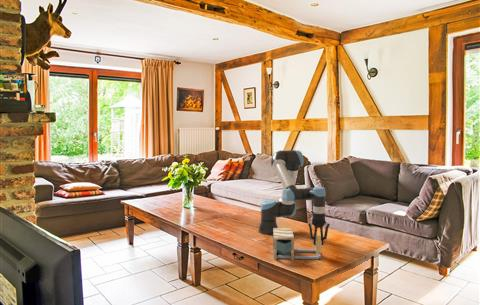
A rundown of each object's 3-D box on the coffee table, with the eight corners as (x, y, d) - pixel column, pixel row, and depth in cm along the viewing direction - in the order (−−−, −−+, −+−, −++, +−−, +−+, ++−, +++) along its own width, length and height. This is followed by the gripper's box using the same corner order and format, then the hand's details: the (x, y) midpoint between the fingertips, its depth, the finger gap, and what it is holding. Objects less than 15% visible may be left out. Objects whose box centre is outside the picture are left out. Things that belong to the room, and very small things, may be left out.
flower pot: (274, 254, 224) (274, 240, 223) (282, 251, 230) (283, 237, 229) (285, 258, 217) (285, 243, 217) (294, 254, 224) (294, 240, 223)
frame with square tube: (273, 250, 231) (273, 232, 230) (318, 251, 229) (318, 232, 228) (274, 257, 217) (274, 238, 216) (321, 259, 215) (321, 239, 214)
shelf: (273, 249, 234) (273, 228, 233) (291, 249, 233) (291, 228, 232) (273, 259, 215) (273, 237, 214) (293, 260, 214) (294, 237, 213)
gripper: (307, 213, 217) (306, 251, 219) (332, 214, 216) (331, 252, 217) (305, 210, 224) (305, 247, 226) (330, 211, 223) (329, 248, 225)
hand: (318, 250), depth 222 cm, fingers closed on frame with square tube, 2 cm apart
